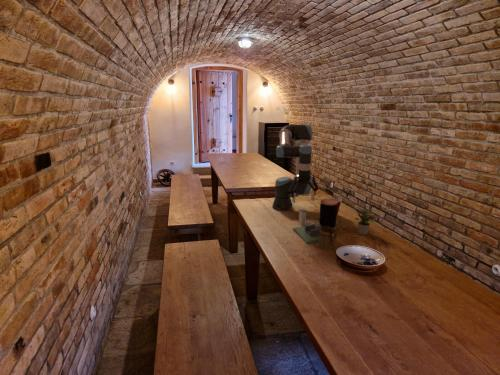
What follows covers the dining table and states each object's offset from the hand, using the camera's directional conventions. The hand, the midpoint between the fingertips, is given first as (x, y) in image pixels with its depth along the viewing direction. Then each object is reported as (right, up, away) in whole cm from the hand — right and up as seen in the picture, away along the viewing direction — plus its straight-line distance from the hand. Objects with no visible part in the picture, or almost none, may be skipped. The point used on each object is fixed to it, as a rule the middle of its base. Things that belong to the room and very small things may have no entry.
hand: (303, 201), depth 205 cm
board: (+3, -20, -11) cm, 23 cm away
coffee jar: (+15, -17, -1) cm, 23 cm away
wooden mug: (+10, -25, -27) cm, 38 cm away
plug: (0, -15, +5) cm, 16 cm away
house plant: (+35, -20, -9) cm, 41 cm away
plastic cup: (+25, -11, +20) cm, 34 cm away
